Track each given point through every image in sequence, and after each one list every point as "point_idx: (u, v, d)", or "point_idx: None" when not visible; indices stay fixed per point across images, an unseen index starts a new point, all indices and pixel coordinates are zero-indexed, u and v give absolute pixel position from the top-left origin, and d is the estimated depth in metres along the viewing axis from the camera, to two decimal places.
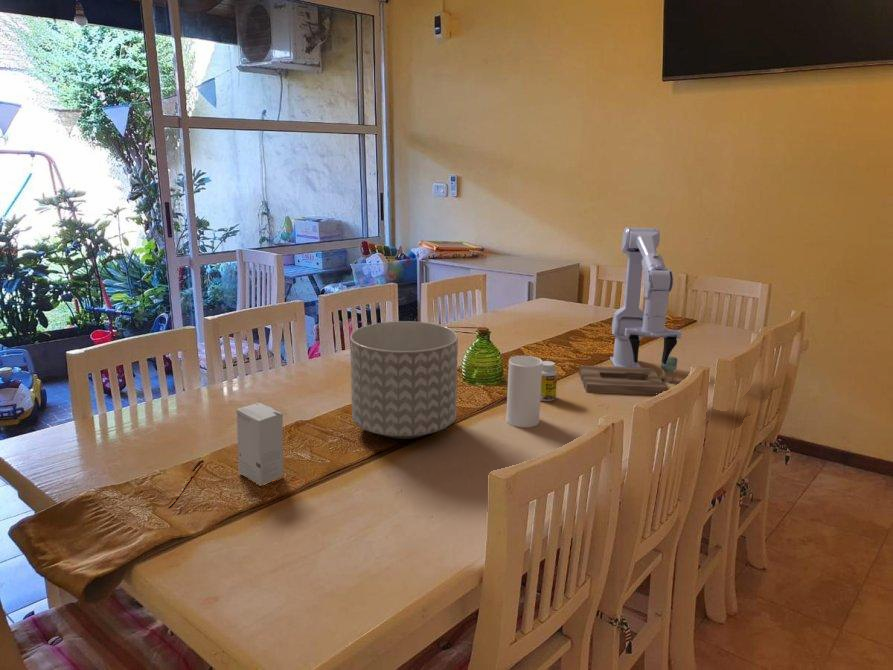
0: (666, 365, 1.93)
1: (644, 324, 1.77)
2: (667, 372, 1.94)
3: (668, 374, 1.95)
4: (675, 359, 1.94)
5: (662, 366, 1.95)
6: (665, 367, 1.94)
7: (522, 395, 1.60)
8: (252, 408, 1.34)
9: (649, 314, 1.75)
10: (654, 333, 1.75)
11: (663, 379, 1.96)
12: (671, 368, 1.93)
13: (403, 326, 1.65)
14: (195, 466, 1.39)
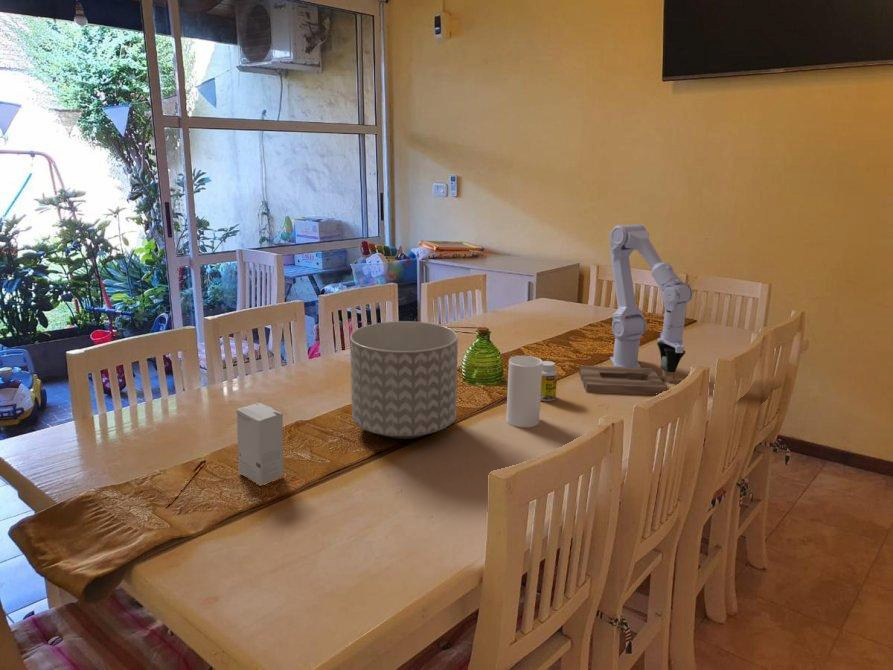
0: (666, 365, 1.93)
1: None
2: (667, 372, 1.94)
3: (668, 374, 1.95)
4: None
5: (662, 366, 1.95)
6: (665, 367, 1.94)
7: (522, 395, 1.60)
8: (252, 408, 1.34)
9: (674, 325, 1.89)
10: (659, 338, 1.93)
11: (663, 379, 1.96)
12: None
13: (403, 326, 1.65)
14: (197, 466, 1.39)
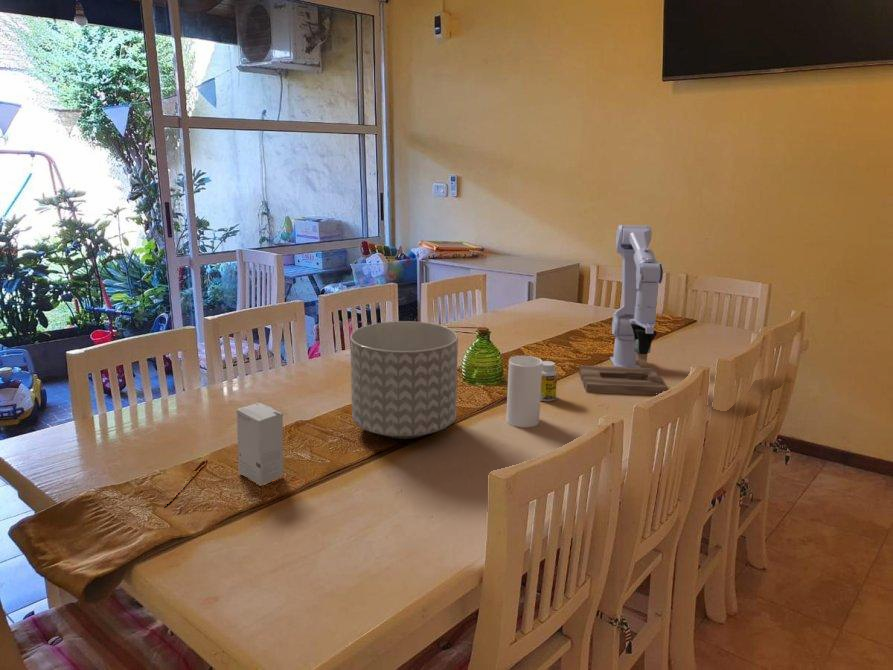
0: None
1: None
2: (641, 355, 1.89)
3: (642, 357, 1.89)
4: None
5: (636, 349, 1.90)
6: None
7: (522, 395, 1.60)
8: (252, 408, 1.34)
9: (640, 305, 1.85)
10: (632, 319, 1.88)
11: (637, 362, 1.91)
12: None
13: (403, 326, 1.65)
14: (198, 466, 1.39)
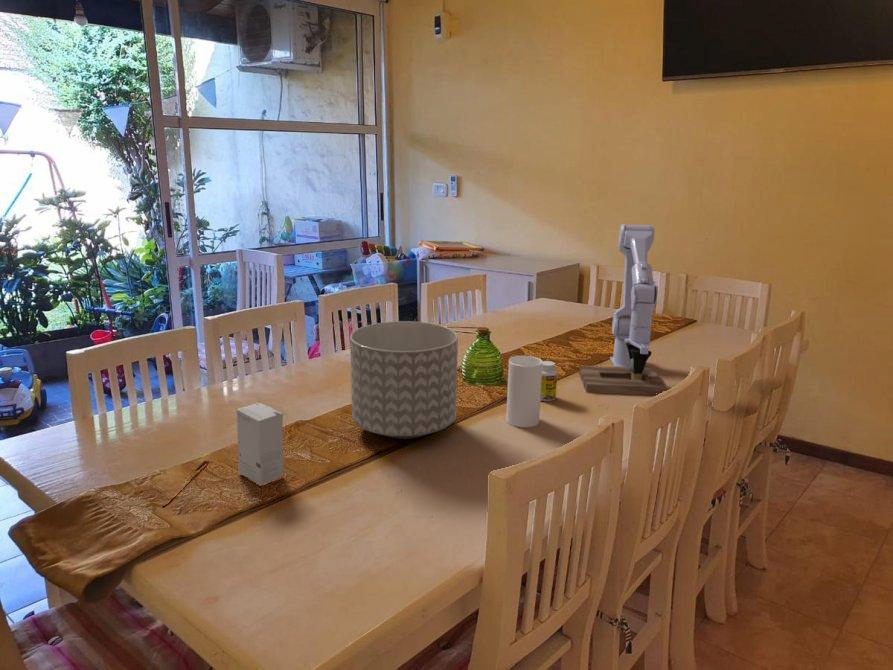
0: None
1: None
2: (636, 374, 1.91)
3: (636, 377, 1.91)
4: None
5: (631, 368, 1.91)
6: None
7: (522, 395, 1.60)
8: (252, 408, 1.34)
9: (635, 325, 1.86)
10: (627, 339, 1.90)
11: None
12: None
13: (403, 326, 1.65)
14: (199, 466, 1.39)
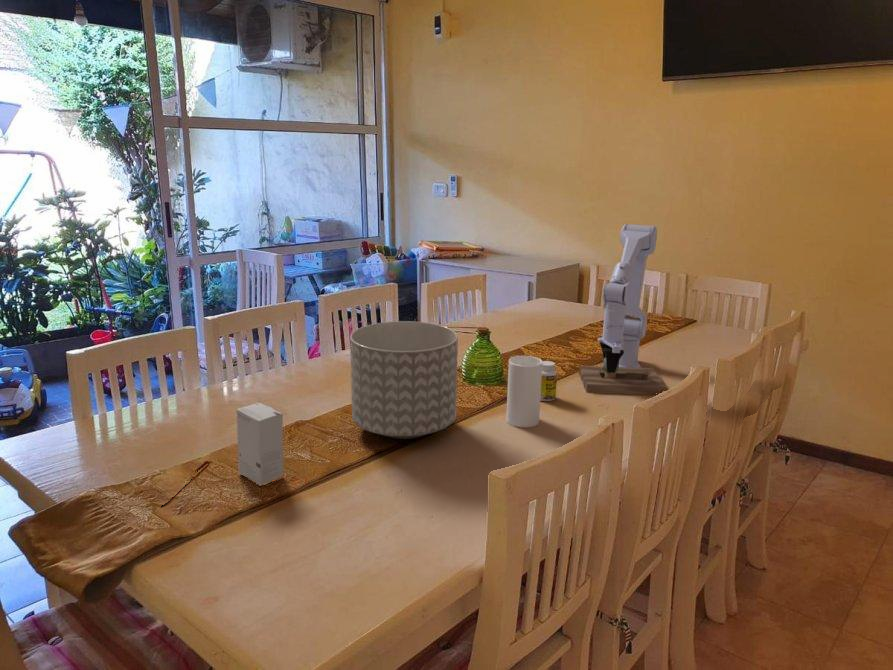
0: None
1: None
2: (609, 374, 1.91)
3: (610, 376, 1.92)
4: None
5: (604, 367, 1.92)
6: None
7: (522, 395, 1.60)
8: (252, 408, 1.34)
9: (604, 323, 1.88)
10: (600, 338, 1.90)
11: None
12: None
13: (403, 326, 1.65)
14: (200, 466, 1.39)
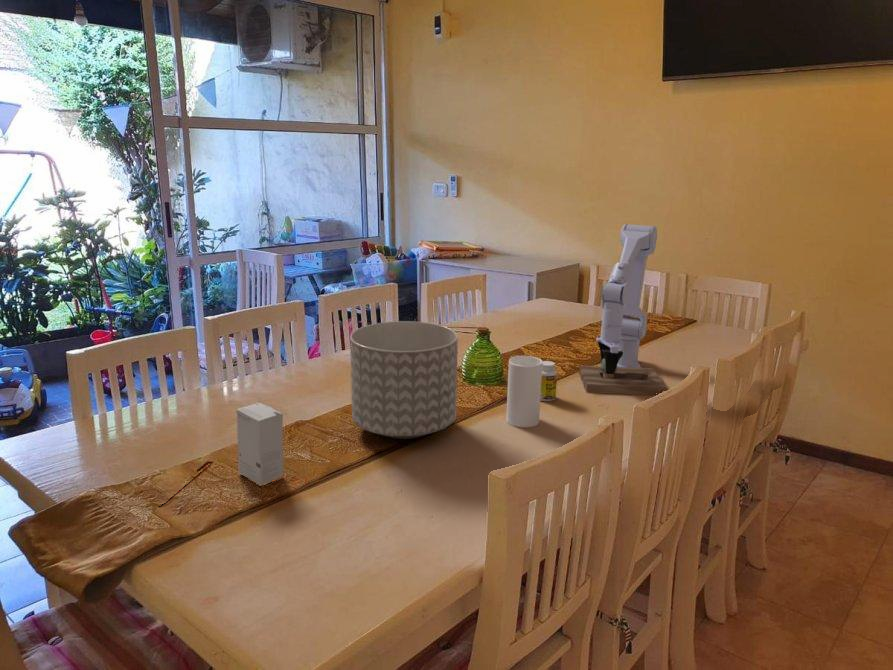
0: None
1: None
2: (608, 374, 1.91)
3: (608, 377, 1.92)
4: None
5: (602, 368, 1.92)
6: (605, 369, 1.91)
7: (522, 395, 1.60)
8: (252, 408, 1.34)
9: (603, 323, 1.88)
10: (598, 338, 1.90)
11: None
12: None
13: (403, 326, 1.65)
14: (201, 466, 1.39)
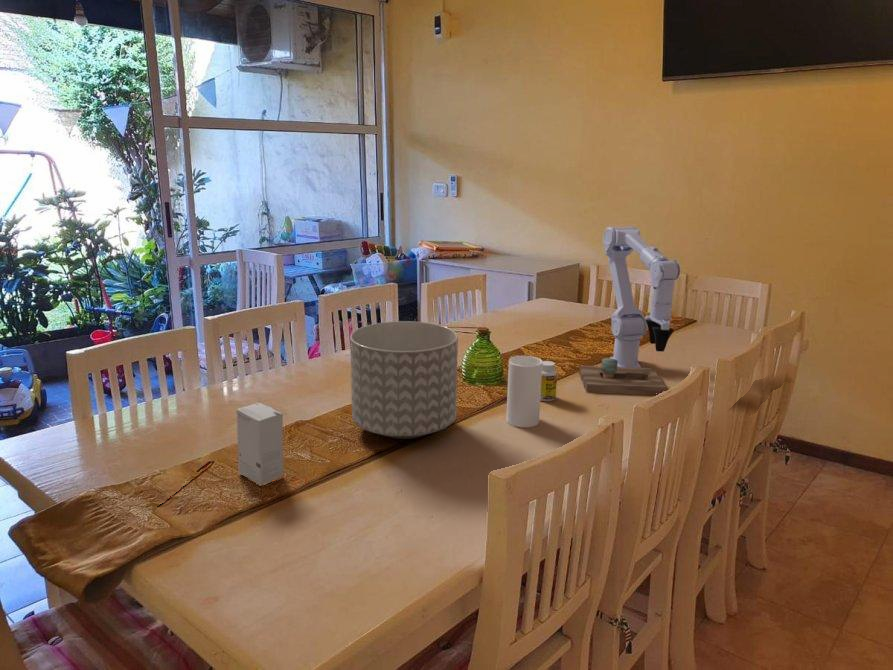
0: (606, 367, 1.91)
1: None
2: (608, 374, 1.92)
3: (608, 376, 1.92)
4: (615, 361, 1.91)
5: (602, 368, 1.92)
6: (605, 369, 1.91)
7: (522, 395, 1.60)
8: (252, 408, 1.34)
9: (660, 302, 1.87)
10: (647, 316, 1.92)
11: None
12: (611, 370, 1.90)
13: (403, 326, 1.65)
14: (202, 466, 1.39)
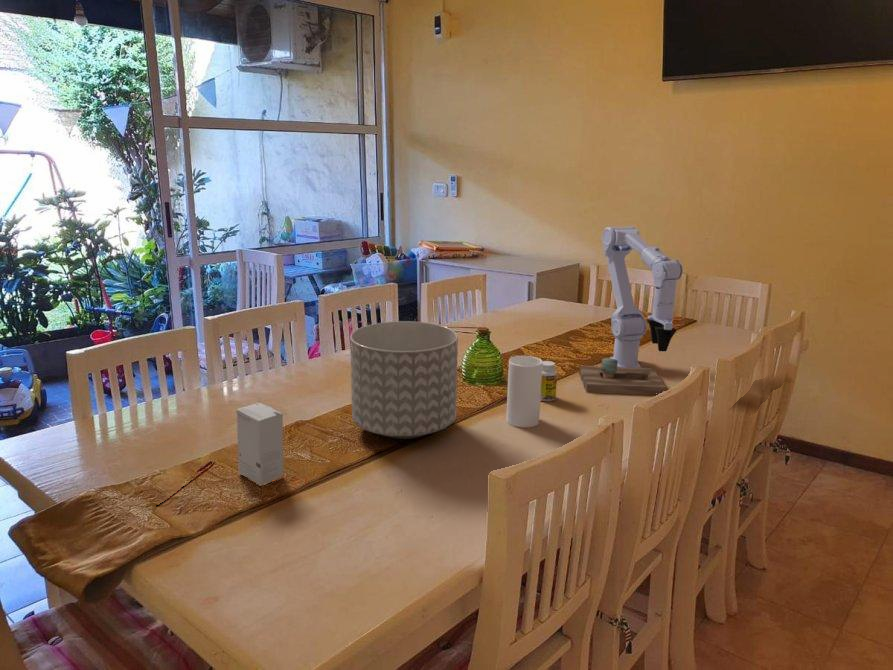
0: (606, 367, 1.91)
1: None
2: (608, 374, 1.92)
3: (608, 377, 1.92)
4: (615, 361, 1.91)
5: (602, 368, 1.92)
6: (605, 369, 1.91)
7: (522, 395, 1.60)
8: (252, 408, 1.34)
9: (662, 302, 1.87)
10: (650, 316, 1.92)
11: None
12: (611, 370, 1.90)
13: (403, 326, 1.65)
14: None
